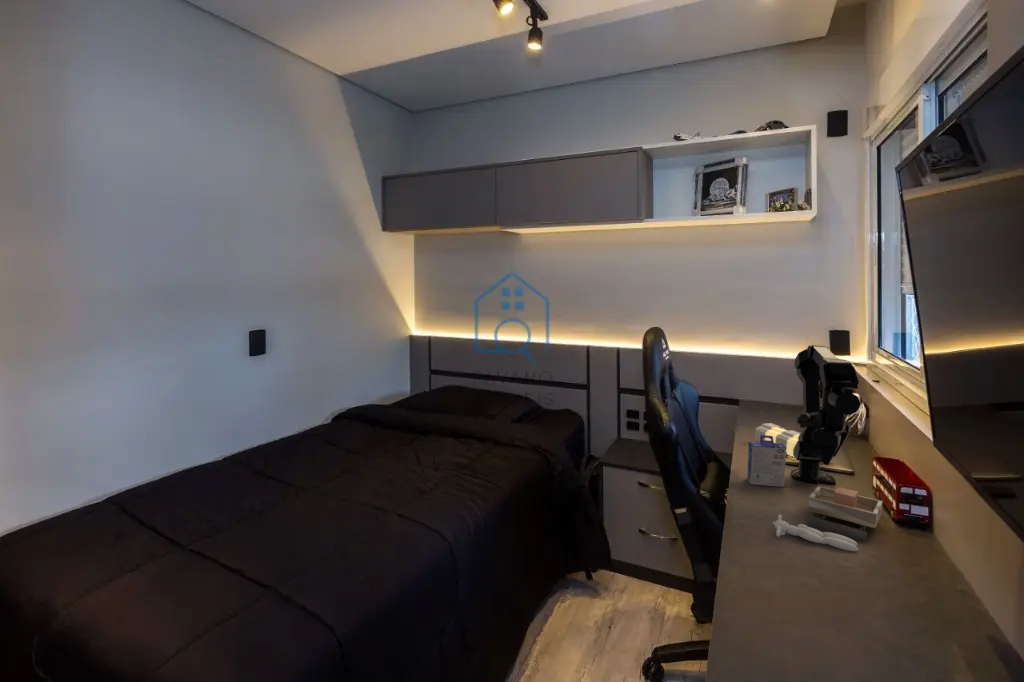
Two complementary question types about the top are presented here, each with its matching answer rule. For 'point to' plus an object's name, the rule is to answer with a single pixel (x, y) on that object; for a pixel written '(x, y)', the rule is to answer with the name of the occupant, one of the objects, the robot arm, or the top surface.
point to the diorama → (778, 436)
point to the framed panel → (838, 528)
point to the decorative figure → (815, 535)
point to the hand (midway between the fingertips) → (829, 460)
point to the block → (846, 497)
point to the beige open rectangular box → (845, 508)
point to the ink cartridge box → (766, 462)
